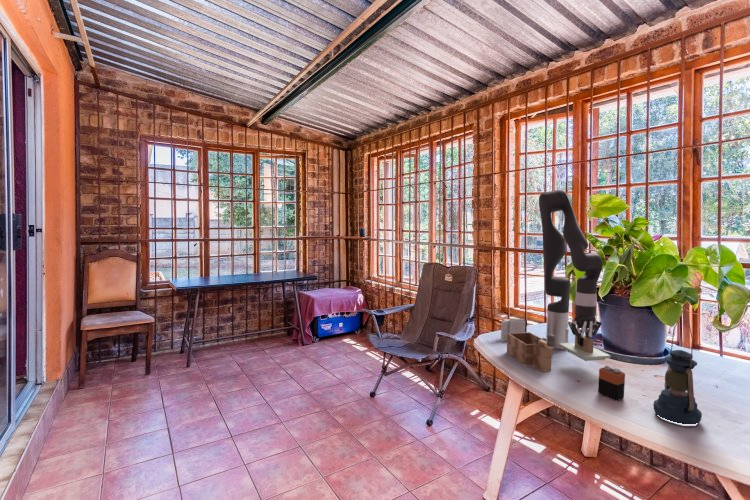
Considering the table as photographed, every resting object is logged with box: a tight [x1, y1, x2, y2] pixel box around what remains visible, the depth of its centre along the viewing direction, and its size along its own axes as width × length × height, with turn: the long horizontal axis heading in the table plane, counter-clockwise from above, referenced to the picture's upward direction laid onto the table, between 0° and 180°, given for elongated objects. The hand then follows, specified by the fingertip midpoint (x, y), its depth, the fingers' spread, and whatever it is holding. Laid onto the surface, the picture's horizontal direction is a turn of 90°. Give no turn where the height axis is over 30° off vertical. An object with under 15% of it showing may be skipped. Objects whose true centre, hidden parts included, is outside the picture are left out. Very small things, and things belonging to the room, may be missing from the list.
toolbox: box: [506, 331, 553, 372], centre depth 169 cm, size 22×11×12 cm, turn 9°
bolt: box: [538, 334, 555, 350], centre depth 158 cm, size 8×3×5 cm, turn 9°
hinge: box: [500, 318, 528, 343], centre depth 198 cm, size 14×5×10 cm, turn 98°
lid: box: [559, 335, 612, 362], centre depth 158 cm, size 16×11×7 cm
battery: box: [597, 365, 626, 401], centre depth 136 cm, size 4×7×10 cm, turn 26°
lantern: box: [653, 307, 703, 424], centre depth 120 cm, size 14×12×35 cm
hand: (583, 345), depth 158 cm, fingers closed on lid
